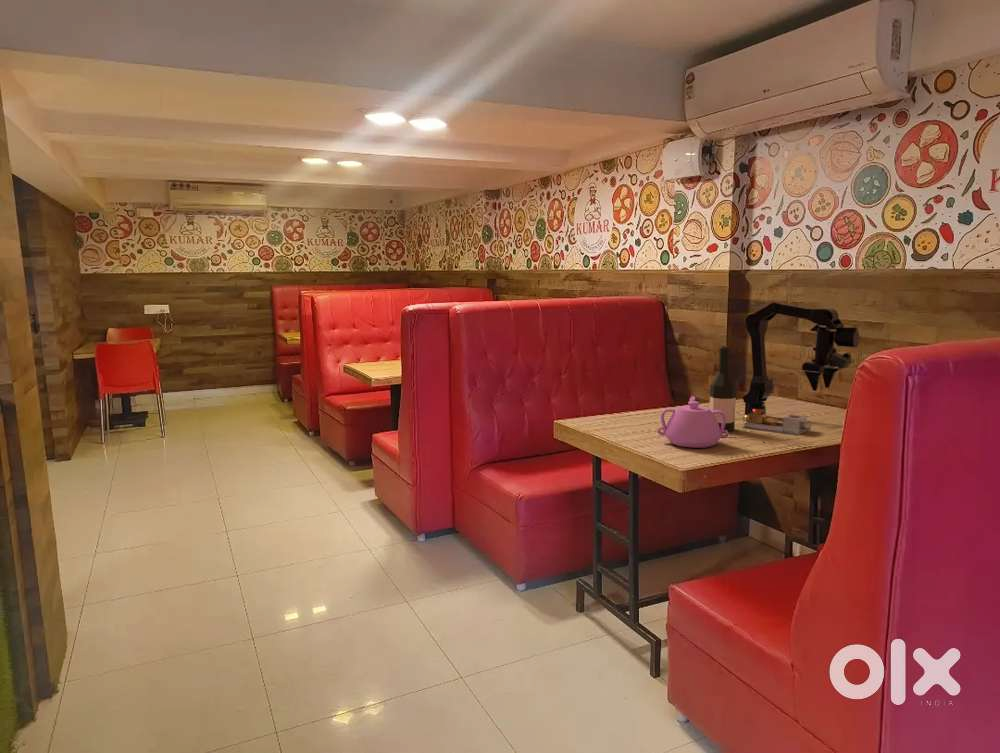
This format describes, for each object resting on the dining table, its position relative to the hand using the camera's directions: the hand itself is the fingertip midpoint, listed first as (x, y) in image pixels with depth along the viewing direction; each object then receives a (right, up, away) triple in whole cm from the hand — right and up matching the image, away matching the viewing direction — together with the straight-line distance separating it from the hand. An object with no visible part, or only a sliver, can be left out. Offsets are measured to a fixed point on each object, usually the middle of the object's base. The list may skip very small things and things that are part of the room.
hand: (821, 389), depth 236 cm
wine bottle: (-36, -15, -4) cm, 40 cm away
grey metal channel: (-18, -15, -3) cm, 23 cm away
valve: (-22, -13, +1) cm, 26 cm away
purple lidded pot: (-50, -17, -17) cm, 56 cm away
